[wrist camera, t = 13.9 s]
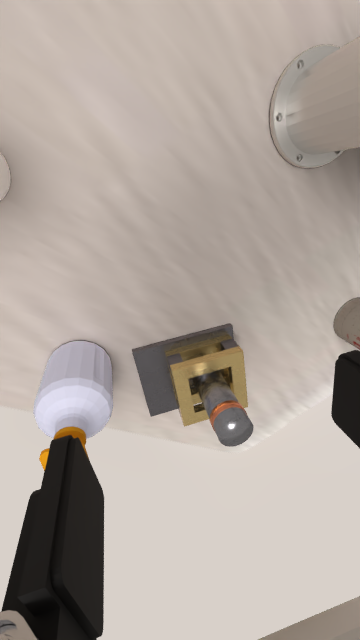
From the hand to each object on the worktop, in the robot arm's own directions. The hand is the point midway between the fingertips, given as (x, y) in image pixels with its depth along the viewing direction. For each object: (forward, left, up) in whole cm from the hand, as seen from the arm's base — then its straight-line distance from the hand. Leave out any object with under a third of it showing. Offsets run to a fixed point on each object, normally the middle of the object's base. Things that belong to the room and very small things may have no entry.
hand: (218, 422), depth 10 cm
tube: (-6, +21, -31) cm, 38 cm away
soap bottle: (+12, +15, -32) cm, 38 cm away
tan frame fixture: (-4, +21, -32) cm, 39 cm away
